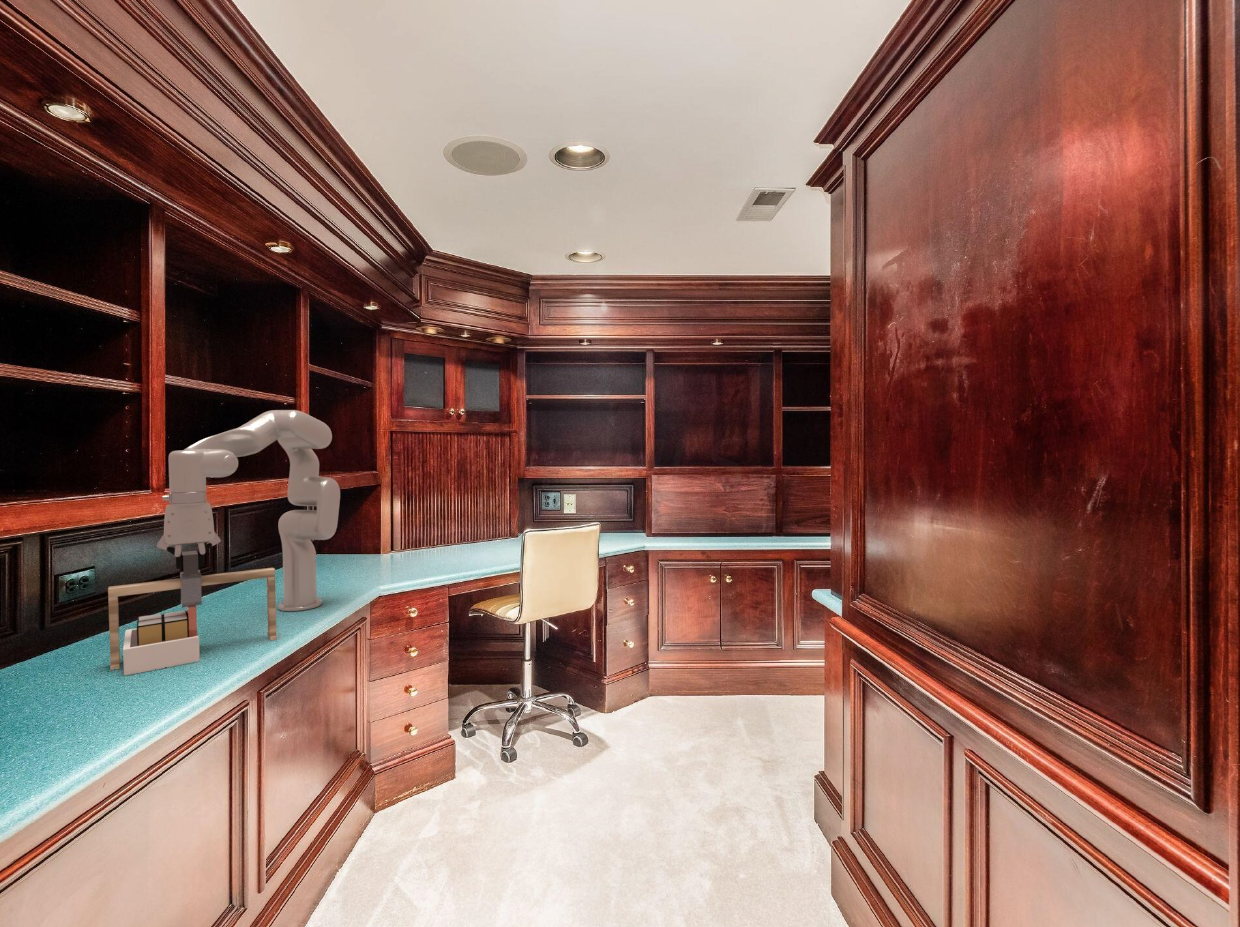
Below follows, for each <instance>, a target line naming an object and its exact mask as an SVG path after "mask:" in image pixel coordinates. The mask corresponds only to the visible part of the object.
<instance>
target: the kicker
mask: <svg viewBox="0 0 1240 927" xmlns="http://www.w3.org/2000/svg"><path fill="white" fill-rule="evenodd" d="M181 553H182V555H183V572H180V571H179V575H180V577H179V579H180V578H181V589H180V605H181V608H186V611H187V615H188V619H189V637H194V636H198V622H197V620H198V619H197V617H198V616H197V614H198V613H197V606H201V605H202V604H203V602H202V600H203V598H202V586H201V576H202V572H201V570H198V551H197V550H189V551H181Z"/></svg>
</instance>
